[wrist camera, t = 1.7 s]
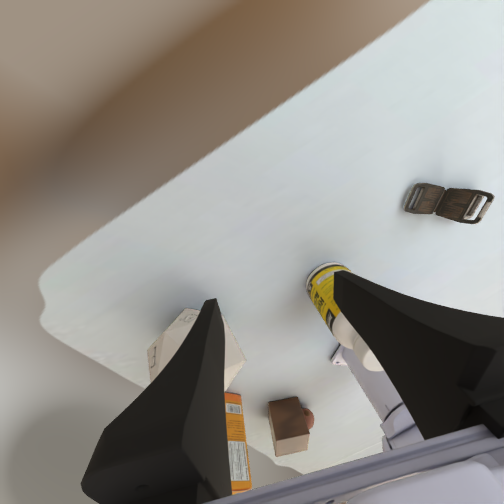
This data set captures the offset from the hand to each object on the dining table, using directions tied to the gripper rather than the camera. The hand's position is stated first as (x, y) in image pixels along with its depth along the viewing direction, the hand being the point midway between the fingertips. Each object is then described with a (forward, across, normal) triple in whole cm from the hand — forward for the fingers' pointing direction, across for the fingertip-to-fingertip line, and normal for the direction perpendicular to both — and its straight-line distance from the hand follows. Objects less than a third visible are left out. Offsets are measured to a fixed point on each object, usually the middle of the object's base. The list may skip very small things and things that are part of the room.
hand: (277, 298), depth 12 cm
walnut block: (+9, 0, +31) cm, 32 cm away
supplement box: (+9, +8, +25) cm, 28 cm away
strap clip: (+9, -20, 0) cm, 22 cm away
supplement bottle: (+9, -8, +7) cm, 14 cm away
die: (+9, +8, +9) cm, 15 cm away
